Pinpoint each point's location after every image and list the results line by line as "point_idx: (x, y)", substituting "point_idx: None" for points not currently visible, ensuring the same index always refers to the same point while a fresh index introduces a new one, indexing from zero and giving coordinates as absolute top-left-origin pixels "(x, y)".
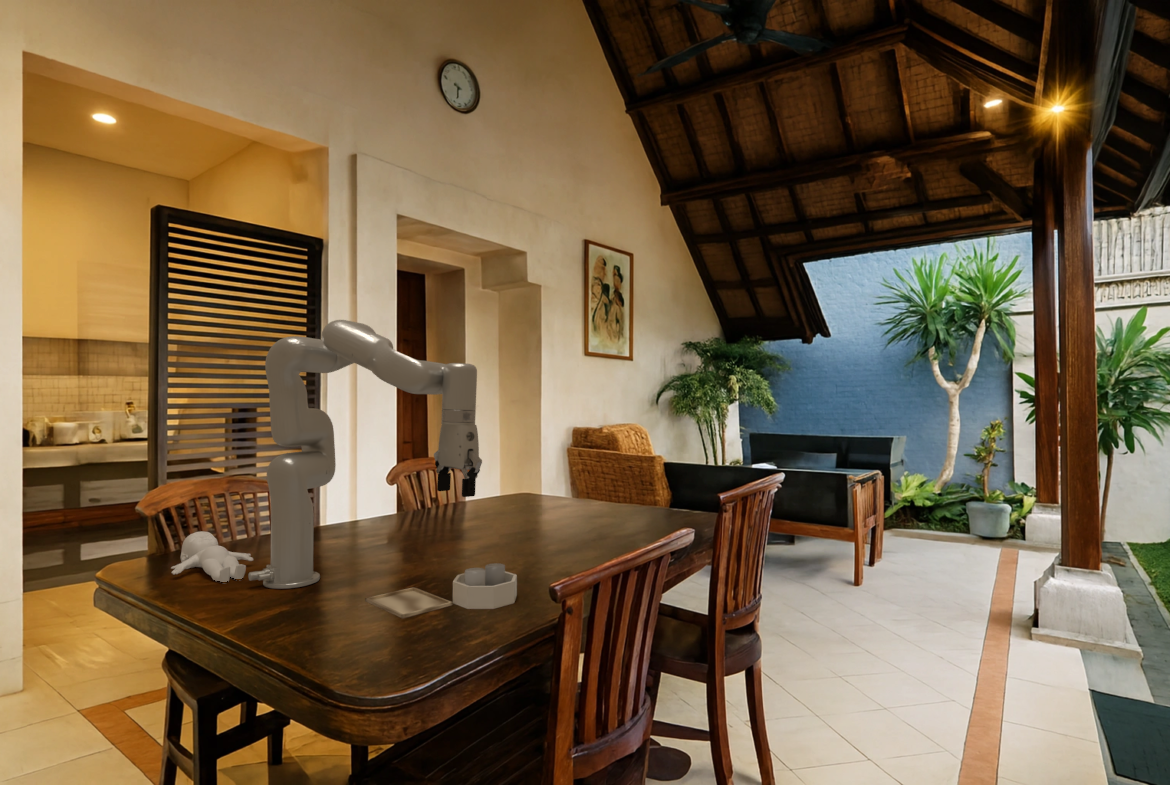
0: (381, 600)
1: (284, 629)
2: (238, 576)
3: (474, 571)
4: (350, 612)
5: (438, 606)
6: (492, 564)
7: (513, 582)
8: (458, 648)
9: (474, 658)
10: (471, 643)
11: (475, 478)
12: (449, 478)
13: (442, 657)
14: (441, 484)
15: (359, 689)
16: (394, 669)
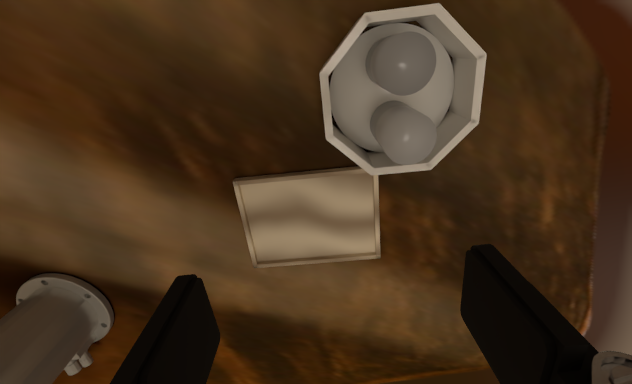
0: (268, 246)
1: (306, 357)
2: None
3: (415, 145)
4: (290, 291)
5: (378, 196)
6: (387, 63)
7: (485, 57)
8: (545, 242)
9: (593, 243)
10: (548, 221)
11: (583, 341)
12: (169, 350)
13: (550, 269)
14: (205, 362)
15: None
16: None
